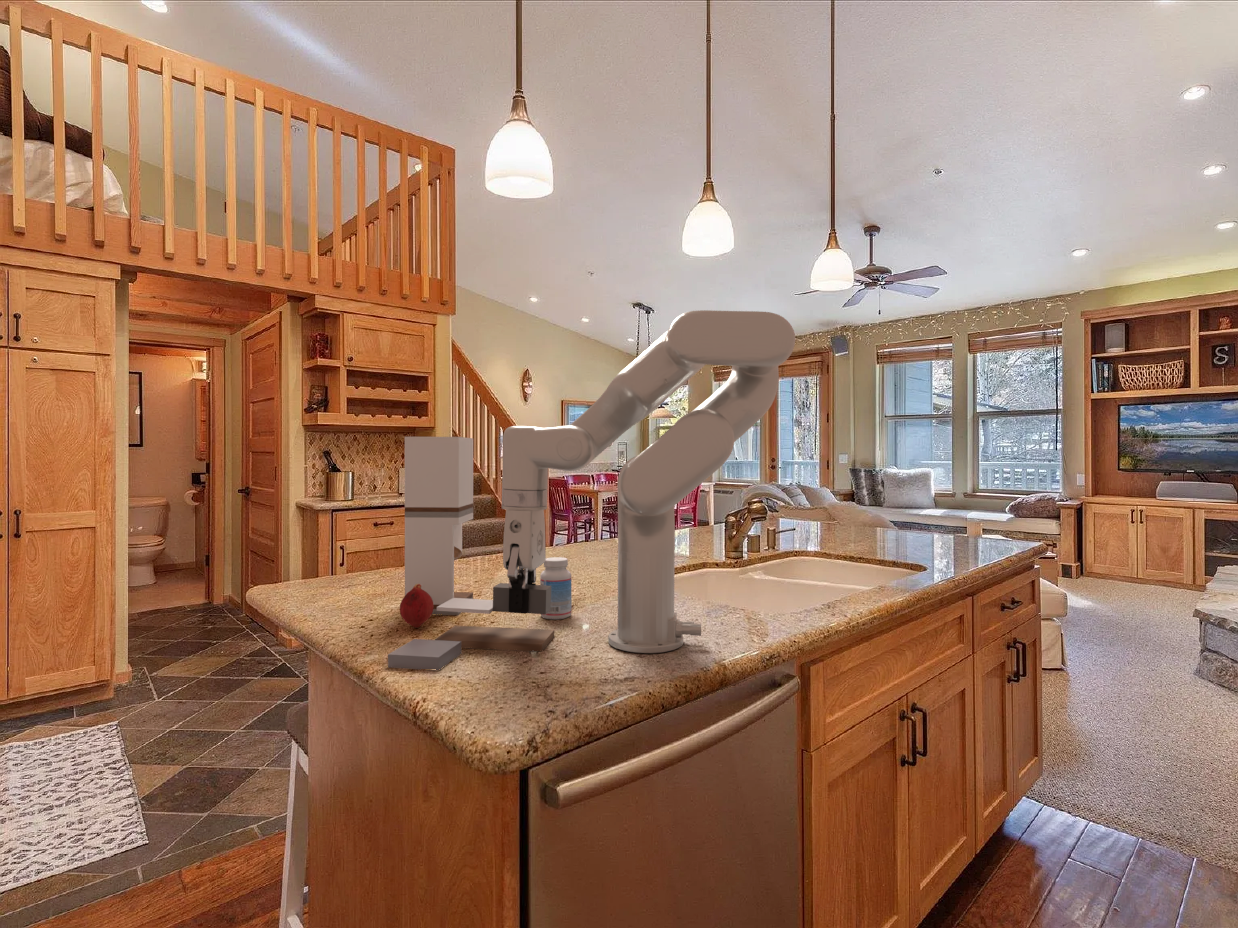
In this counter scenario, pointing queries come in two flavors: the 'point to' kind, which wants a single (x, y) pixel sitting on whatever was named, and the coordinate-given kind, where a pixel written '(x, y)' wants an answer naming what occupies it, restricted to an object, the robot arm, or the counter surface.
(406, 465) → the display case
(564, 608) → the pill bottle
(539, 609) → the stepped grey white block
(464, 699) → the counter surface
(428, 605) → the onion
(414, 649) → the tile
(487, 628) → the rest
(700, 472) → the robot arm
